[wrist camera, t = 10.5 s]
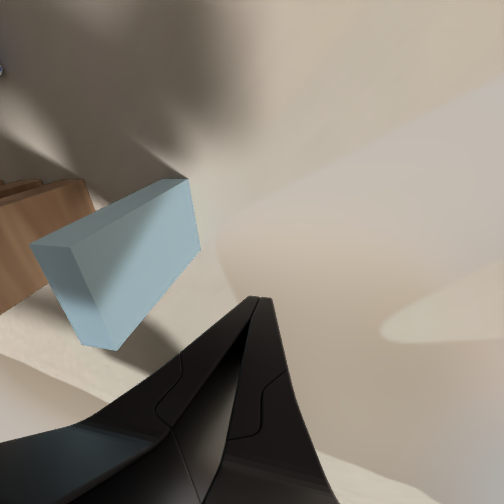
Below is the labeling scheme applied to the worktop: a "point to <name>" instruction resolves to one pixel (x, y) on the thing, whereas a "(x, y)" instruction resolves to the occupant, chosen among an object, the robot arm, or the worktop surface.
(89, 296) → the tile
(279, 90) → the worktop surface
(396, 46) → the worktop surface
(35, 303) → the worktop surface
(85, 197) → the tile
